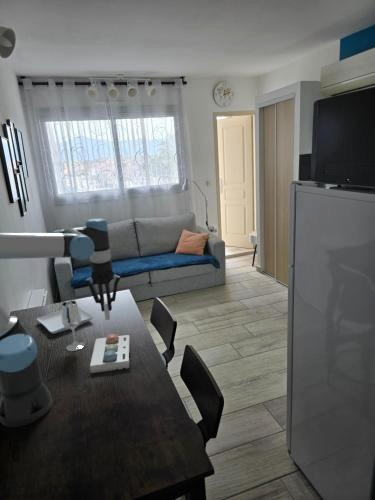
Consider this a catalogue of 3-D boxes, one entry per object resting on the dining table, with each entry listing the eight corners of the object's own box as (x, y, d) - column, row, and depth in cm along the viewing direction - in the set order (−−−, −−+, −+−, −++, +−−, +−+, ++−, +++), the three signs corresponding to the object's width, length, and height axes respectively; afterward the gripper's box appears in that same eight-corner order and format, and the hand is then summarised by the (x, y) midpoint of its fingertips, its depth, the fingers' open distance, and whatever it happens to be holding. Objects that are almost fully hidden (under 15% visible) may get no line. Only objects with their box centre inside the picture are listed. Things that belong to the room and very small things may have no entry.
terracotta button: (117, 344, 135) (116, 338, 134) (106, 345, 134) (105, 339, 133) (118, 339, 139) (117, 333, 138) (107, 340, 138) (106, 334, 137)
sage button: (117, 355, 128) (116, 349, 128) (105, 357, 128) (104, 350, 127) (117, 349, 133) (116, 343, 132) (106, 351, 132) (105, 344, 131)
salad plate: (36, 324, 163) (35, 317, 162) (77, 310, 176) (76, 304, 175) (52, 338, 147) (50, 332, 146) (95, 322, 161) (94, 316, 160)
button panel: (129, 367, 122) (128, 360, 121) (90, 373, 120) (89, 365, 119) (129, 341, 141) (129, 334, 140) (96, 345, 139) (96, 338, 138)
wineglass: (77, 352, 134) (70, 308, 129) (62, 350, 137) (54, 306, 132) (88, 343, 141) (82, 300, 136) (73, 340, 144) (67, 298, 139)
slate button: (115, 362, 122) (115, 356, 121) (103, 364, 121) (103, 357, 121) (116, 356, 126) (115, 349, 125) (104, 357, 125) (104, 351, 125)
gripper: (119, 256, 125) (124, 312, 131) (84, 259, 124) (91, 316, 129) (118, 261, 118) (124, 320, 124) (81, 264, 116) (89, 324, 122)
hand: (107, 318), depth 127 cm, fingers closed
